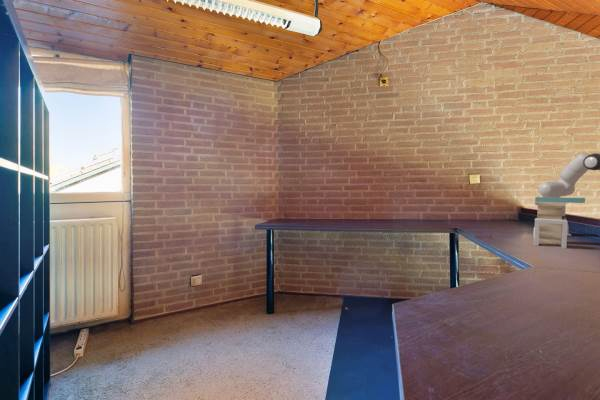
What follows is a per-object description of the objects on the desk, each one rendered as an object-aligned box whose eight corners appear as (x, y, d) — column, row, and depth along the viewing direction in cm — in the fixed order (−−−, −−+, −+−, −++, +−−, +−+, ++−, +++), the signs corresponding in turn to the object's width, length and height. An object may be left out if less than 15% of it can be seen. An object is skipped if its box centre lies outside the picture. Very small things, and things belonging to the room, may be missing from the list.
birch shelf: (533, 240, 208) (534, 201, 206) (562, 242, 199) (564, 202, 197) (533, 241, 201) (535, 202, 200) (564, 244, 192) (565, 202, 191)
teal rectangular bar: (535, 201, 204) (535, 197, 204) (584, 202, 190) (584, 197, 190) (535, 201, 202) (535, 197, 201) (584, 203, 188) (585, 198, 187)
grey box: (534, 243, 197) (535, 218, 196) (564, 245, 188) (566, 219, 187) (534, 245, 191) (535, 219, 190) (566, 248, 182) (567, 221, 181)
